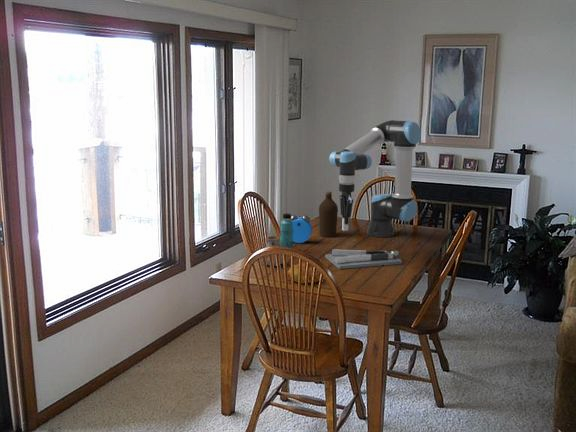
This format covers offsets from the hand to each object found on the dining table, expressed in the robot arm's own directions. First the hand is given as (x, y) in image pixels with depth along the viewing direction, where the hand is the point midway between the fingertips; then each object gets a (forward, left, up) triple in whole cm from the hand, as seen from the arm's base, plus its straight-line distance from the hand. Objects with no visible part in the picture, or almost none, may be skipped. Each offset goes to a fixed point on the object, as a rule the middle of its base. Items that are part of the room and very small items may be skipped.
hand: (345, 230), depth 304 cm
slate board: (-5, +11, -13) cm, 18 cm away
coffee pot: (+40, +10, -13) cm, 43 cm away
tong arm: (-5, +8, -11) cm, 14 cm away
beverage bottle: (+27, -13, -13) cm, 32 cm away
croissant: (+31, +31, -13) cm, 46 cm away
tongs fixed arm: (-6, +16, -11) cm, 20 cm away
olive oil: (-5, -40, -13) cm, 42 cm away
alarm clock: (+15, -30, -13) cm, 36 cm away
